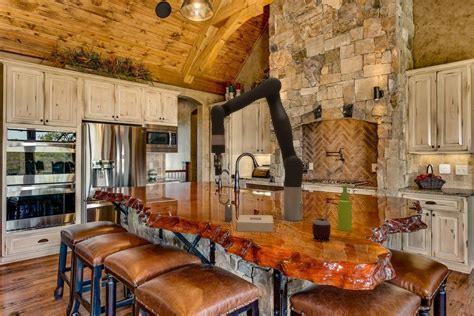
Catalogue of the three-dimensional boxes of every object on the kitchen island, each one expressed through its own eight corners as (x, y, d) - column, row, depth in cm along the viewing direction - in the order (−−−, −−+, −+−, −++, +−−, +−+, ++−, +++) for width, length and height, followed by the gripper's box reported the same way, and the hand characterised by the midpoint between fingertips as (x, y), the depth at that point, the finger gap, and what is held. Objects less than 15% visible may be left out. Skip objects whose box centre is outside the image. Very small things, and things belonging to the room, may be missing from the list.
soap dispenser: (352, 232, 129) (352, 186, 129) (336, 229, 133) (336, 185, 133) (355, 229, 134) (355, 185, 134) (339, 227, 138) (339, 184, 138)
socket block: (272, 223, 144) (272, 215, 144) (273, 232, 128) (273, 223, 128) (239, 222, 146) (239, 214, 146) (236, 231, 130) (236, 222, 130)
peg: (232, 220, 151) (232, 204, 151) (231, 222, 147) (231, 205, 147) (225, 220, 151) (225, 203, 151) (224, 222, 147) (224, 205, 147)
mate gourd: (311, 241, 115) (311, 202, 115) (313, 235, 123) (313, 200, 123) (331, 243, 113) (331, 204, 113) (332, 237, 120) (332, 201, 120)
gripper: (223, 143, 146) (223, 176, 146) (227, 144, 160) (227, 174, 161) (208, 143, 147) (208, 176, 147) (213, 144, 161) (213, 174, 161)
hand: (218, 175), depth 154 cm, fingers open, 8 cm apart
